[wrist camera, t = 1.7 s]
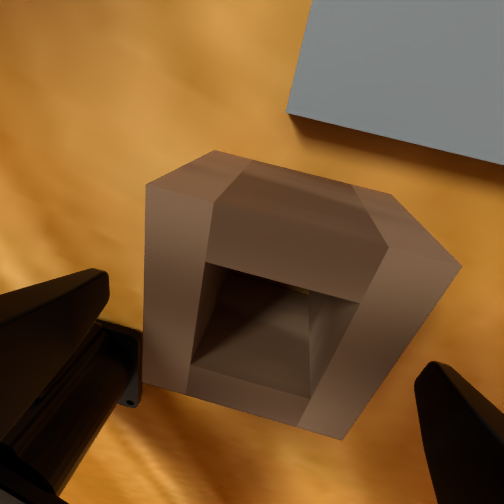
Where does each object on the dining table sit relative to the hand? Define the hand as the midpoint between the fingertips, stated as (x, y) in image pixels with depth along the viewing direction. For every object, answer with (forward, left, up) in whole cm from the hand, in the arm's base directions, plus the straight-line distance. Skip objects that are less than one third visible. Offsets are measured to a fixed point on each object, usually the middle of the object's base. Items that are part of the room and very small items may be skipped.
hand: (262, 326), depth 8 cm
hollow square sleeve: (0, 0, -5) cm, 5 cm away
